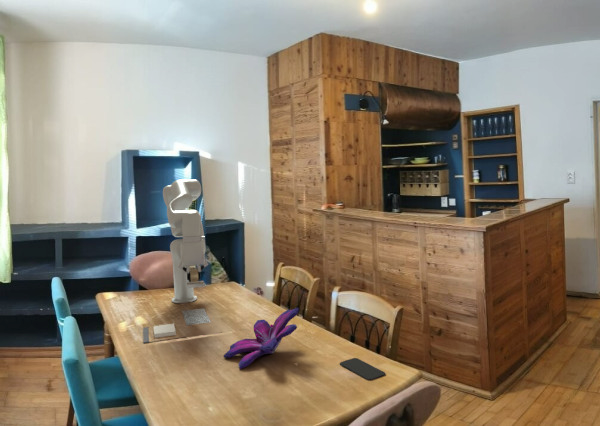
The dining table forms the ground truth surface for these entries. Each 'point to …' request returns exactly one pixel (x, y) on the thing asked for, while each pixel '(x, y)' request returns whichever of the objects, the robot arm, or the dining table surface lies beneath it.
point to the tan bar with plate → (194, 278)
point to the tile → (164, 330)
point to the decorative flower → (263, 338)
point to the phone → (362, 369)
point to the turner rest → (195, 316)
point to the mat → (146, 336)
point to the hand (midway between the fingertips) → (194, 280)
